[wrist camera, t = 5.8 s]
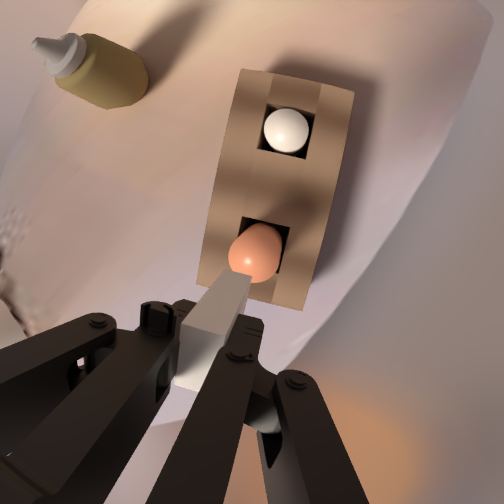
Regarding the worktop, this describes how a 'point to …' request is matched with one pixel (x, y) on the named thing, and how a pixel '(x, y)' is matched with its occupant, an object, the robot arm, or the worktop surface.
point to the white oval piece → (286, 131)
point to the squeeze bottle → (94, 69)
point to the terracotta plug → (256, 252)
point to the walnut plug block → (276, 180)
